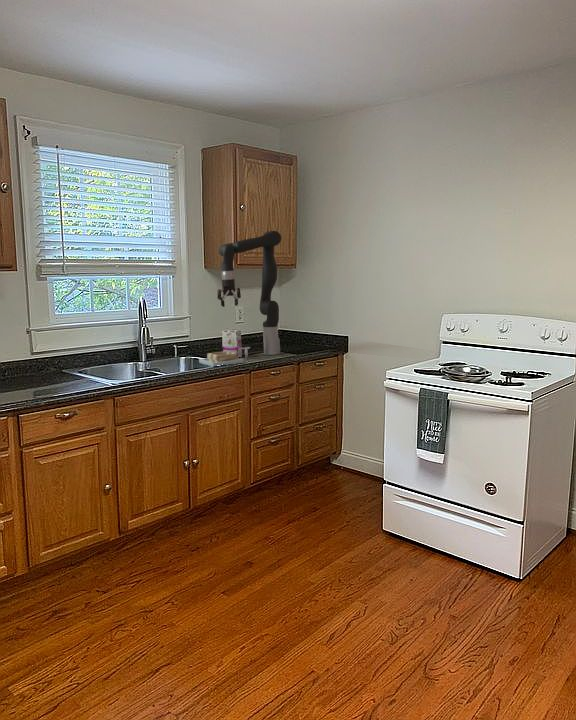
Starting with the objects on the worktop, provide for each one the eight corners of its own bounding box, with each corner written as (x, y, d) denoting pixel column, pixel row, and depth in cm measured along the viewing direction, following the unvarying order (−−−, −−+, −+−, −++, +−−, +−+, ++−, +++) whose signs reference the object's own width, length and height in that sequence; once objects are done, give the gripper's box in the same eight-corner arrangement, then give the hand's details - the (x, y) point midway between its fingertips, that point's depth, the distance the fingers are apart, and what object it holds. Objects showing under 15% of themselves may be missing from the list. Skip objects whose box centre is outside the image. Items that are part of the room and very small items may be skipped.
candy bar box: (242, 357, 370) (241, 330, 367) (238, 358, 365) (236, 331, 363) (227, 356, 375) (225, 329, 372) (222, 357, 370) (221, 330, 368)
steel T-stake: (249, 358, 363) (249, 346, 362) (251, 358, 362) (250, 347, 361) (241, 359, 361) (241, 347, 360) (243, 359, 359) (242, 348, 358)
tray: (228, 359, 362) (228, 355, 362) (243, 363, 347) (243, 359, 346) (199, 363, 353) (199, 359, 352) (213, 367, 337) (213, 363, 336)
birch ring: (238, 362, 347) (238, 353, 346) (218, 364, 340) (217, 356, 339) (227, 359, 359) (227, 351, 358) (207, 361, 352) (207, 353, 351)
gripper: (220, 279, 350) (221, 307, 353) (241, 278, 358) (243, 305, 361) (214, 279, 357) (216, 306, 360) (235, 277, 364) (237, 304, 367)
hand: (229, 306), depth 360 cm, fingers open, 8 cm apart
